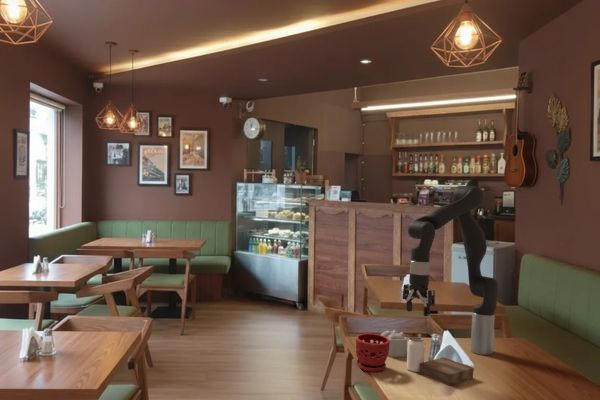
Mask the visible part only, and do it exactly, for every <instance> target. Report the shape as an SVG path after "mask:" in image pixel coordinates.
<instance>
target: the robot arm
mask: <svg viewBox="0 0 600 400" xmlns="http://www.w3.org/2000/svg"><path fill="white" fill-rule="evenodd" d="M452 197H453V198H452V199H453V202H449V203H447V204H444V205H442V206H439V207H437V208H436V209H434V210H433V211H431V212H430V213H429V214H427V215H424V216H420V217H418V218H416V219H415V220H413V221H412V222H411V223H409V224H408V228H407V233H408V235H409V236H410V237H411V238H412V239H415V240H416V239H417V240H420V241H419V243H418V245H417V244H416V245H413V246H412V247H411V250H410V251H411V252H410V265H409V281H408V282H409V283H407V284H403V289H402V299H403V300H405V302H406V311H407V312H412V311H413V300H414V299H418V300H420V301H421V302H422V303H423V316H424V317H429V316H430V314H431V313H430V312H431V306H432V307H433V306H435V305H436V303H435V302H436V298H435V297H436V294H435V289H431V290H430V289H429V288H428V287H429V285H430V269H431V268H430V258H431V257H430V255H431V252H430V251H431V248H432V246H433V242H434V239H435V237H436V230H439V229H442V227H444V226H445V225H446V224H448V223H450V222H451V221H453V220H455V218H456V219H457V218H458V221H459V227H460V231H461V235H462V237H461V238H462V243H463V248H464V252H465V259H466V264H467V272H468V285H469V286H468V287H469V290H470V292H471V294H472V295H473V296H475V297H479V298H482V302H481V303H477V304H474V305H473V306H472V315H471V331H470V332H471V335H470V351H471V352H472V353H474V354H477V355H483V356H486V355H487V356H490V355H493V353H494V351H495V336H496V334H495V333H496V332H495V314H496V313H495V312H496V308H497V303H498V294H499V283H498V281H497V279H496V278H494V277H489V276H484V275H483V274H482V272H481V264H482V261H483V260H484V258H485V255H486V253H487V241H486V235H485V233H484V231H483V229H482V227H480V225H479V223H478V222H477V221H476V220H475V218H474V217H473V215H472V212H471V210H474V209H476V208H479V207H480V206H481V205H482V204H483V202H484V201H483V200H484V191H483V190H482V188H480V187H479V186H476V185H457V186H455V187H454V190H453V193H452Z"/></svg>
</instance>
